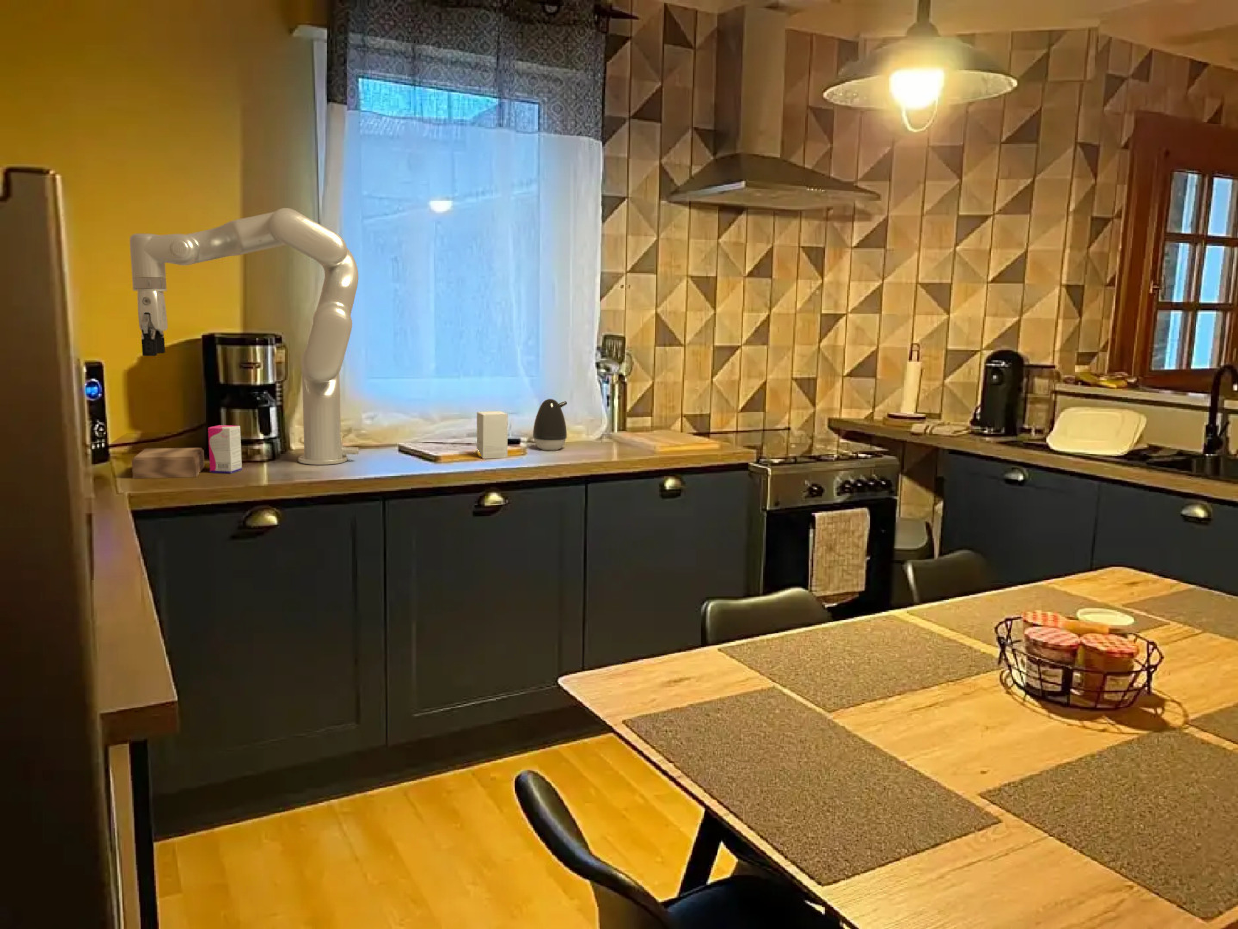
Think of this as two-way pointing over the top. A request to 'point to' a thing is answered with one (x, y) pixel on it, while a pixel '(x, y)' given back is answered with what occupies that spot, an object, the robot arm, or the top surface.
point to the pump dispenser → (550, 426)
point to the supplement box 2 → (492, 434)
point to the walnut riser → (168, 463)
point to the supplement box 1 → (225, 449)
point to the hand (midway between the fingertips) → (154, 354)
